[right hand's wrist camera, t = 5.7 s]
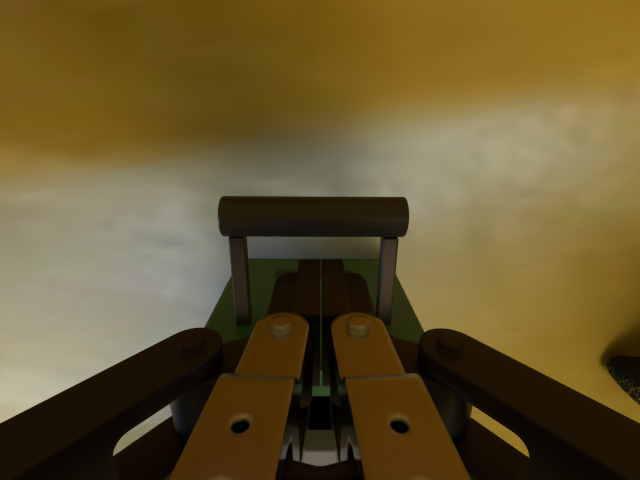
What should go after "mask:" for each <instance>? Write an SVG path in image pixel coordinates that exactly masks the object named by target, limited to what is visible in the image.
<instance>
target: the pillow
mask: <svg viewBox="0 0 640 480" xmlns="http://www.w3.org/2000/svg"><path fill="white" fill-rule="evenodd" d="M607 369H608V371H609V373H610V375H611V376H612V377H613V379H614V380H615V381H616V382H617V384H618V385H619V386H620V387H621V388H622V389H623V390H624V391H625V392H626V393H627V394H628V395H629V396H630V397H631V398H632V399H634V400H635V401H636V402H637V403H638V404H639V405H640V357H635V356H616V357H614V358H611V359H610V362H608V363H607Z"/></svg>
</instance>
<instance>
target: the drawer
mask: <svg viewBox="0 0 640 480" xmlns="http://www.w3.org/2000/svg"><path fill="white" fill-rule="evenodd" d="M408 224H409V208H408V203H407V200H406V198H404V197H278V196H223V197H221V199H220V202H219V206H218V225H219V230H220V233H221V234H222V236H230V237H229V250H230V261H231V273H232V276H231V277H230V279H229V281H228V283H227V285H226V287H225V289H224V291H223V293H222V295H221V297H220V299H219V301H218V302H217V304H216V306H215V308H214V310H213V312H212V314H211V316H210V318H209V320H208V322H207V324H206V326H205V327H204V328H209V329H212V330H215V331H217V332H218V333H219V334H220V335H221V338H222V343H225V342H229V341H234V340H239V339H243V338H246V337H248V336H250V335H251V334H252V331H253V329H254V327H255V325H256V323H257V322H258V321H259V320H260V319H262V318H263V317H265V316H267V312H268V308H269V304H270V301H271V297H272V293H273V289H274V285H275V282H276V279H277V278H278V277H280V276H281V275H282V274H283V273H297V272H298V265H299V259H248V250H247V236H277V237H381V242H380V256H379V259H343V265H344V272H345V273H359V274H360V275H361V276H362V277H364V278H365V279H366V282H367V286H368V289H369V293H370V296H371V300H372V304H373V307H374V311H375V315H376V317H377V318H378V319H380V320H381V321H382V322H383V323H384V325H385V327H386V329H387V331H388V333H389V334H390V335H392V336H395V337H397V338H400V339H404V340H409V341H414V342H419V340H420V337H421V335H422V334H423V333H424V331H423V329H422V327H421V324H420V322H419V320H418V318H417V316H416V314H415V312H414V310H413V308H412V306H411V304H410V302H409V300H408V298H407V296H406V294H405V292H404V290H403V288H402V286H401V284H400V282H399V280H398V278H397V276H396V274H395V271H396V260H397V249H398V238H397V237H404V236H405V235H406V233H407V229H408ZM308 430H332V424H331V416H330V386H322V259H320V386H313V391H312V399H311V402H310V416H309V424H308Z"/></svg>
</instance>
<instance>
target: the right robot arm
mask: <svg viewBox="0 0 640 480" xmlns="http://www.w3.org/2000/svg"><path fill="white" fill-rule="evenodd" d="M313 386H320V259H299V265H298V272H297V273H283V274H282V275H281V276H280V277H278V278H277V279H276V282H275V285H274V289H273V293H272V297H271V301H270V304H269V308H268V312H267V316H265V317H263V318H262V319H260V320H259V321H258V322H257V323H256V325H255V327H254V329H253V331H252V334H251V335H250V336H248V337H246V338H243V339H239V340H234V341H229V342H225V343H222V338H221V335H220V334H219V333H218V332H217V331H215V330H212V329H209V328H193V329H188V330H184V331H181V332H179V333H176V334H174V335H172V336H170V337H168V338H167V339H165V340H163V341H161V342H159V343H157V344H155V345H153V346H151V347H149V348H147V349H145V350H143V351H141V352H139V353H137V354H135V355H133V356H131V357H129V358H127V359H125V360H124V361H122V362H120V363H118V364H116V365H114V366H112V367H110V368H108V369H106V370H104V371H102V372H100V373H98V374H96V375H94V376H92V377H90V378H88V379H86V380H84V381H82V382H80V383H79V384H77V385H75V386H73V387H71V388H69V389H67V390H65V391H63V392H61V393H59V394H57V395H55V396H53V397H51V398H49V399H47V400H45V401H43V402H41V403H39V404H37V405H36V406H34V407H32V408H30V409H28V410H26V411H24V412H22V413H20V414H18V415H16V416H14V417H12V418H10V419H8V420H6V421H4V422H2V423H0V480H640V423H638V422H636V421H634V420H632V419H630V418H628V417H626V416H624V415H622V414H620V413H618V412H616V411H614V410H612V409H610V408H608V407H606V406H604V405H603V404H601V403H599V402H597V401H595V400H593V399H591V398H589V397H587V396H585V395H583V394H581V393H579V392H577V391H575V390H573V389H571V388H569V387H567V386H565V385H563V384H561V383H560V382H558V381H556V380H554V379H552V378H550V377H548V376H546V375H544V374H542V373H540V372H538V371H536V370H534V369H532V368H530V367H528V366H526V365H524V364H522V363H520V362H518V361H516V360H515V359H513V358H511V357H509V356H507V355H505V354H503V353H501V352H499V351H497V350H495V349H493V348H491V347H489V346H487V345H485V344H483V343H481V342H479V341H477V340H475V339H473V338H472V337H470V336H468V335H466V334H463V333H461V332H458V331H455V330H451V329H442V328H440V329H431V330H428V331H426V332H424V333H423V334H422V335H421V337H420V340H419V342H414V341H409V340H404V339H400V338H397V337H395V336H392V335H390V334H389V333H388V331H387V329H386V327H385V325H384V323H383V322H382V321H381V320H380V319H378V318H377V317H376V315H375V311H374V307H373V304H372V300H371V296H370V293H369V289H368V286H367V282H366V279H365V278H364V277H362V276H361V275H360V274H359V273H345V272H344V265H343V259H322V386H330V416H331V424H332V432H333V440H334V448H335V456H336V463H333V464H329V465H325V466H315V465H311V464H307V463H304V456H305V448H306V440H307V432H308V424H309V416H310V402H311V399H312V391H313ZM168 404H170V407H171V412H172V416H171V417H169V418H168V419H166V420H165V421H163V422H162V423H161V424H159V425H158V426H156V427H155V428H153V429H152V430H150V431H149V432H148V433H146V434H145V435H143V436H142V437H140V438H139V439H137V440H136V441H135V442H133V443H132V444H130V445H129V446H127V447H126V448H125V449H123V450H122V451H120V452H119V453H117V454H116V455H114V456H113V451H114V448H115V446H116V444H117V442H118V441H119V440H120V438H121V437H122V436H123V435H124V434H125V433H127V432H128V431H129V430H131V429H132V428H134V427H135V426H137V425H138V424H140V423H141V422H143V421H144V420H146V419H147V418H149V417H150V416H152V415H153V414H155V413H156V412H158V411H159V410H161V409H162V408H164V407H165V406H167V405H168ZM472 405H473V406H475V407H476V408H478V409H479V410H481V411H482V412H484V413H485V414H487V415H488V416H490V417H491V418H493V419H494V420H496V421H497V422H499V423H500V424H502V425H503V426H505V427H506V428H508V429H509V430H511V431H512V432H514V433H515V434H516V435H517V436H518V437H519V438H520V439H521V440H522V441H523V442H524V444H525V445H526V447H527V449H528V452H529V457H527V456H526V455H524V454H523V453H521V452H520V451H518V450H517V449H516V448H514V447H513V446H511V445H510V444H508V443H507V442H505V441H504V440H503V439H501V438H500V437H498V436H497V435H495V434H494V433H492V432H491V431H490V430H488V429H487V428H485V427H484V426H482V425H481V424H479V423H478V422H477V421H475V420H474V419H472V418H471V417H470V416H471V411H472Z"/></svg>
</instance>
